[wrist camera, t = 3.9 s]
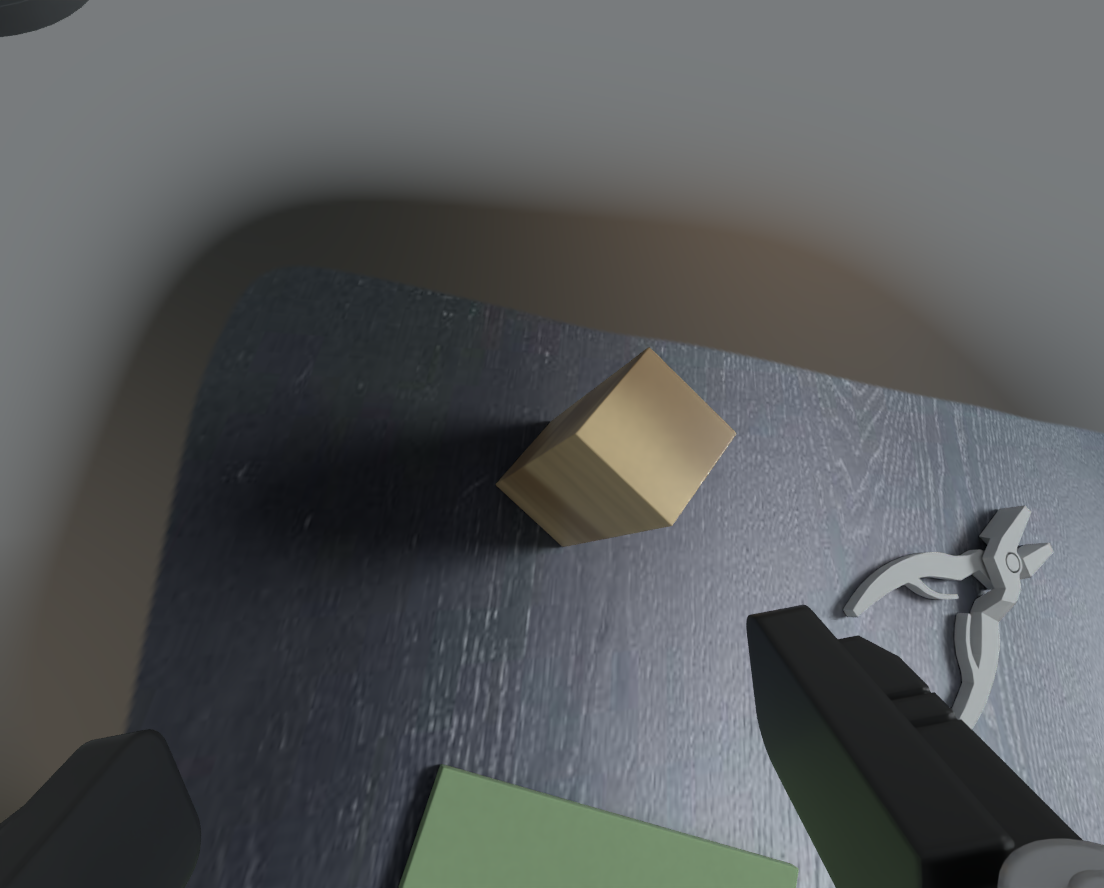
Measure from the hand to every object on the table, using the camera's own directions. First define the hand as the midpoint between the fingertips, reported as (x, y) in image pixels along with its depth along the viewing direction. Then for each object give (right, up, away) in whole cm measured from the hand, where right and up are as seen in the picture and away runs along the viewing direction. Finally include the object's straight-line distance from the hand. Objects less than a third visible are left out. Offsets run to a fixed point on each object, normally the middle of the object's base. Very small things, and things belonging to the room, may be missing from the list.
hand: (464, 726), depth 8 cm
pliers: (+25, -5, +29) cm, 39 cm away
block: (+1, +2, +21) cm, 22 cm away
